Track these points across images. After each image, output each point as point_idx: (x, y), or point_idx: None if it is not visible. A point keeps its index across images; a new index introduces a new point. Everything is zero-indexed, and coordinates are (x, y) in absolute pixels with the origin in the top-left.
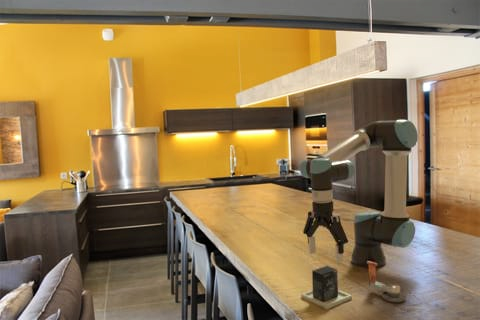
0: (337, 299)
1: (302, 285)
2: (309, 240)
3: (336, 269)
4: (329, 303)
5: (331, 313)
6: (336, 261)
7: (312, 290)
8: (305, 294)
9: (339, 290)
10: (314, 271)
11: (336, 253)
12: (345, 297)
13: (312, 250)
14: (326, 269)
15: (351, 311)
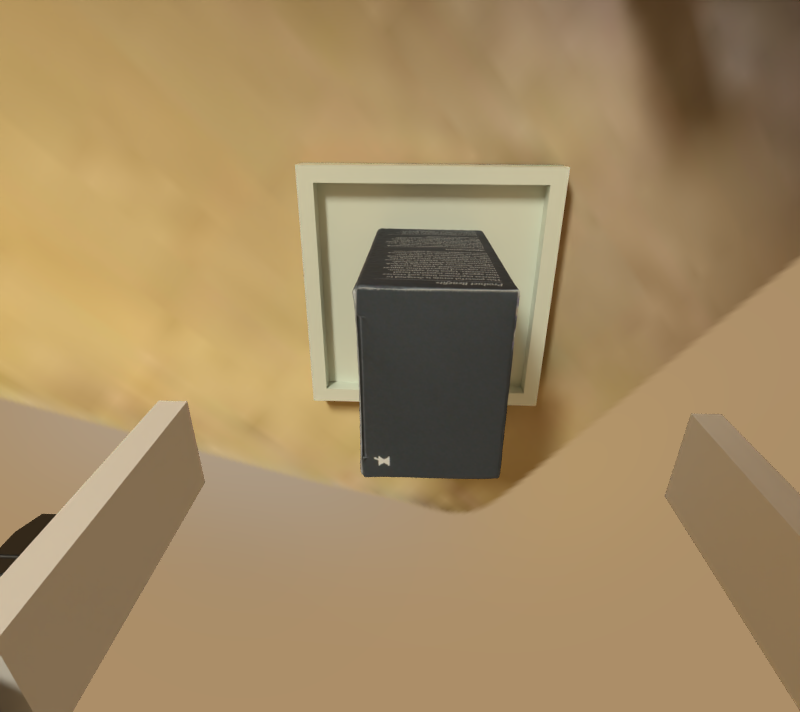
0: (506, 266)
1: (160, 254)
2: (81, 671)
3: (512, 299)
4: (530, 375)
5: (579, 407)
6: (678, 508)
7: (315, 315)
8: (326, 376)
9: (444, 167)
10: (392, 475)
11: (751, 607)
12: (556, 234)
13: (180, 483)
14: (441, 378)
15: (658, 313)
